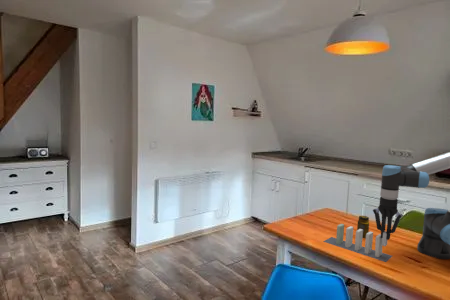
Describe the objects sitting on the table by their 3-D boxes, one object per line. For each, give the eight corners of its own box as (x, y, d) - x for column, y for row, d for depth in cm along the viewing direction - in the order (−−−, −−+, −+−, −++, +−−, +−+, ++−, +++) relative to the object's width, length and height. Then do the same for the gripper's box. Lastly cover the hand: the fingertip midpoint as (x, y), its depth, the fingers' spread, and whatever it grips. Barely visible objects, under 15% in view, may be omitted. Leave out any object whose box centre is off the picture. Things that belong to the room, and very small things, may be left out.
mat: (392, 256, 151) (392, 255, 151) (385, 262, 144) (385, 262, 144) (331, 237, 174) (331, 236, 174) (322, 242, 167) (322, 241, 167)
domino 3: (361, 248, 160) (363, 229, 159) (357, 250, 156) (359, 231, 155) (358, 247, 161) (360, 228, 160) (354, 249, 157) (356, 230, 156)
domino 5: (382, 254, 153) (382, 234, 152) (378, 257, 149) (379, 237, 148) (378, 253, 154) (379, 234, 153) (374, 256, 150) (375, 236, 150)
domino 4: (371, 251, 156) (373, 232, 155) (367, 254, 153) (369, 234, 152) (368, 250, 157) (369, 231, 156) (364, 253, 154) (366, 233, 153)
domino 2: (352, 245, 163) (353, 226, 162) (348, 247, 160) (349, 229, 159) (349, 244, 164) (350, 226, 163) (345, 246, 161) (346, 228, 160)
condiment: (371, 238, 175) (373, 217, 174) (362, 240, 171) (364, 220, 170) (359, 233, 182) (361, 214, 180) (350, 236, 177) (352, 216, 176)
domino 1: (343, 242, 167) (344, 224, 166) (338, 244, 163) (340, 226, 162) (340, 241, 168) (341, 223, 167) (335, 243, 164) (337, 225, 163)
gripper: (406, 199, 145) (401, 247, 147) (377, 193, 154) (373, 239, 156) (401, 201, 139) (396, 251, 142) (371, 196, 149) (367, 243, 151)
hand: (384, 245), depth 149 cm, fingers closed
